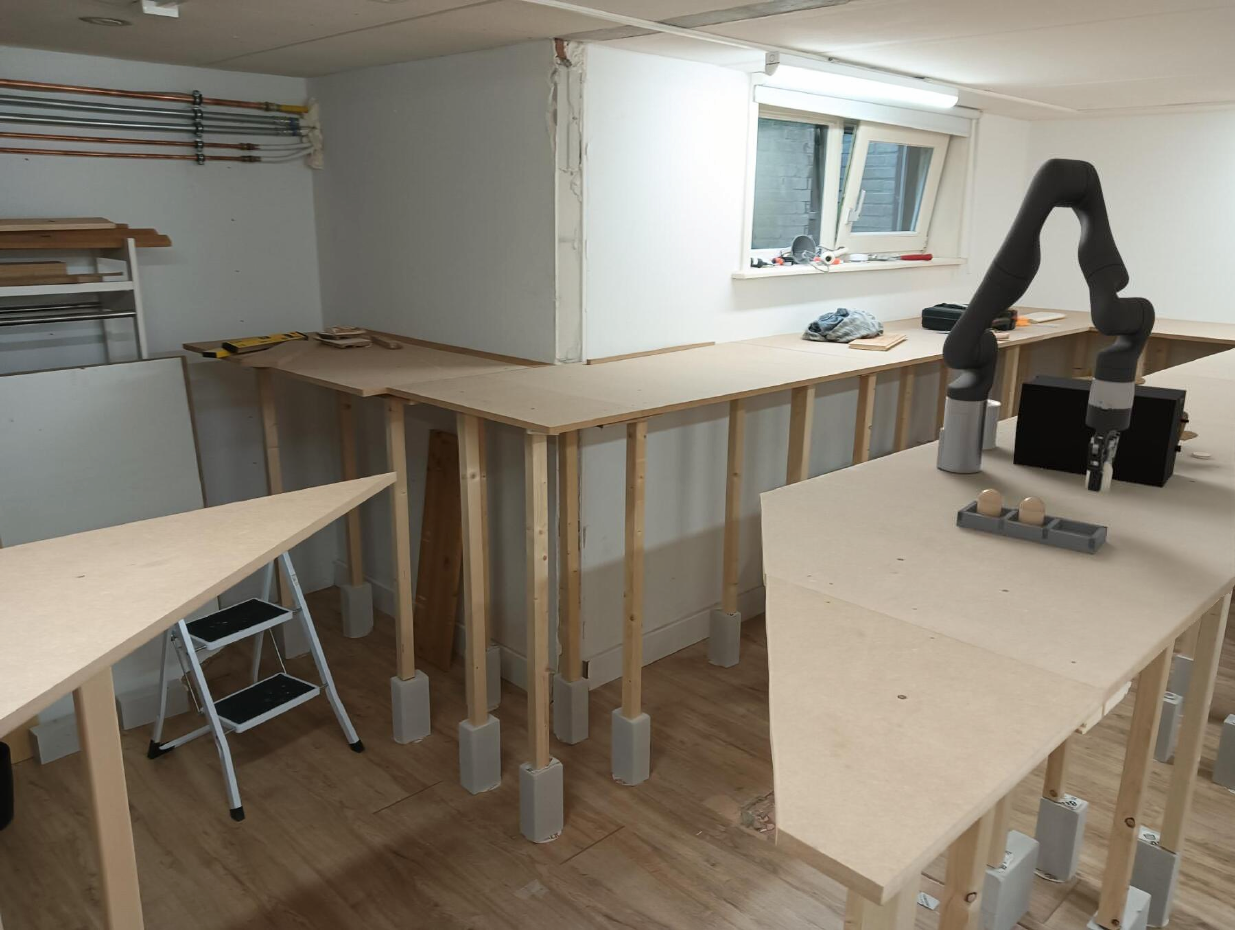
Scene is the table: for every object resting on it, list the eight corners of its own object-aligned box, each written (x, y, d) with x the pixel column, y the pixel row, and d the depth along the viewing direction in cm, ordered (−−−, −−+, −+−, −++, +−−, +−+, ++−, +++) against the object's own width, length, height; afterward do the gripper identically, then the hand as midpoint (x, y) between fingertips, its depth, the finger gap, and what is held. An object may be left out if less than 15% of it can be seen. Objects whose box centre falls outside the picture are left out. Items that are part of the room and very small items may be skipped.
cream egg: (1081, 490, 185) (1086, 460, 184) (1087, 485, 189) (1092, 455, 187) (1106, 494, 183) (1111, 464, 181) (1111, 489, 186) (1116, 459, 184)
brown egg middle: (1014, 528, 181) (1018, 497, 180) (1021, 522, 185) (1025, 492, 183) (1038, 533, 179) (1042, 502, 177) (1045, 527, 182) (1049, 496, 180)
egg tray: (956, 525, 186) (957, 511, 185) (972, 513, 193) (974, 500, 192) (1092, 554, 171) (1095, 539, 170) (1105, 540, 177) (1107, 526, 177)
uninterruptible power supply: (1030, 451, 241) (1040, 373, 235) (1181, 474, 221) (1195, 390, 215) (1011, 465, 228) (1021, 383, 223) (1169, 490, 208) (1184, 401, 203)
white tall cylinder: (1001, 450, 241) (1010, 373, 236) (965, 450, 242) (973, 372, 236) (986, 440, 252) (994, 365, 246) (951, 439, 252) (959, 365, 246)
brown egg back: (972, 519, 186) (975, 489, 185) (980, 514, 189) (983, 484, 188) (995, 524, 183) (998, 494, 182) (1002, 518, 187) (1006, 488, 185)
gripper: (1099, 394, 188) (1086, 476, 193) (1079, 406, 178) (1066, 492, 182) (1140, 399, 184) (1127, 483, 188) (1122, 412, 173) (1108, 500, 178)
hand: (1097, 487), depth 185 cm, fingers closed on cream egg, 4 cm apart
